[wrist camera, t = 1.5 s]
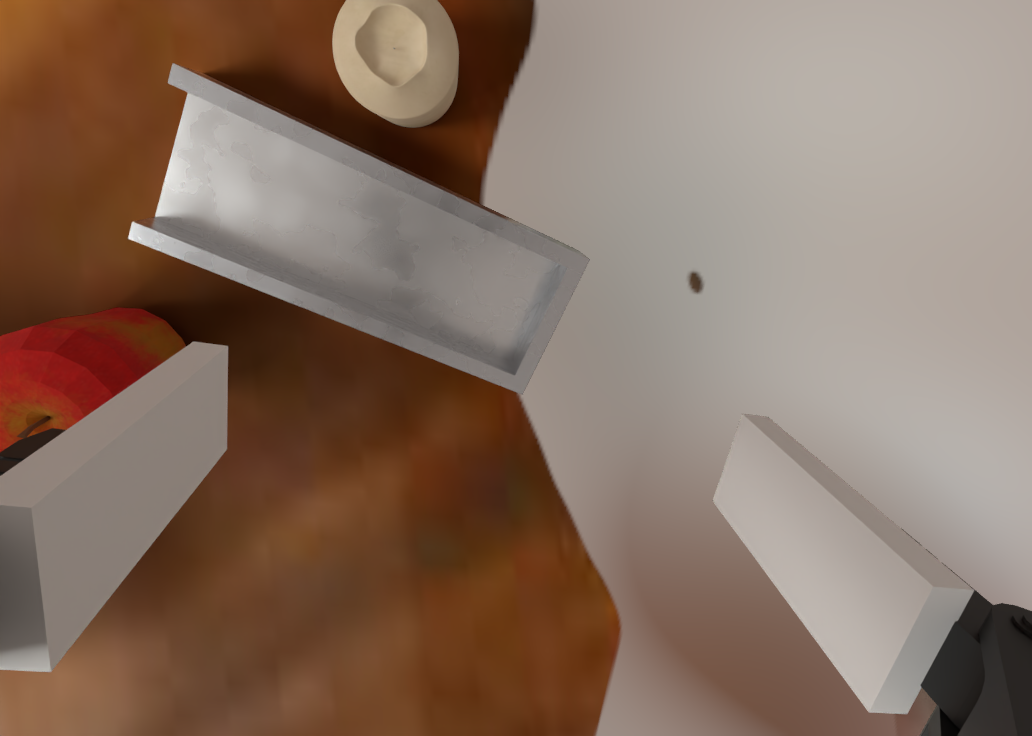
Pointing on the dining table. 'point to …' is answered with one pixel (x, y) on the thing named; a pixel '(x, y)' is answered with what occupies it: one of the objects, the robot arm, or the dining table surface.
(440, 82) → the candle
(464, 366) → the gray tray
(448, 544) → the dining table surface
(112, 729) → the dining table surface
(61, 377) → the apple
